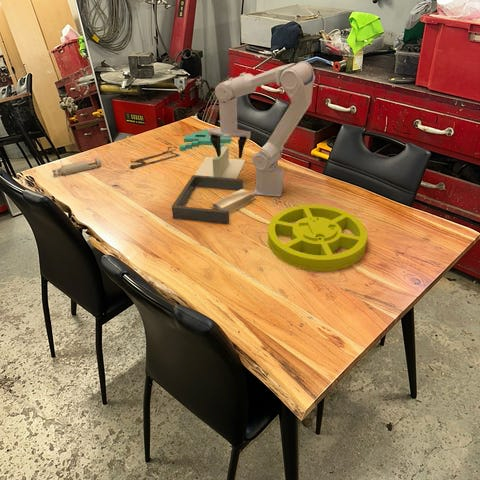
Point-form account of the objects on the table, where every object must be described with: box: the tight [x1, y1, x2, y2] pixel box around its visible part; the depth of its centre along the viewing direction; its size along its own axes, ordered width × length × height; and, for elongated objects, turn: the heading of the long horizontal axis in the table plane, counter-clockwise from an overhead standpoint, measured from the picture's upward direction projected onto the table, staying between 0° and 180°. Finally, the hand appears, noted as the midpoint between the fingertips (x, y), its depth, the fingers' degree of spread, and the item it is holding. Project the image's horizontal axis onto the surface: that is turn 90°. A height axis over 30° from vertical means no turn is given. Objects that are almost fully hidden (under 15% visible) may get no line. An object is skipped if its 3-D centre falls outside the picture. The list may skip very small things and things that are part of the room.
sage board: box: [212, 145, 230, 177], centre depth 161 cm, size 2×12×7 cm, turn 165°
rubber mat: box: [194, 156, 247, 179], centre depth 164 cm, size 16×20×1 cm
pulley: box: [267, 204, 368, 272], centre depth 124 cm, size 28×28×5 cm
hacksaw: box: [129, 146, 180, 170], centre depth 174 cm, size 24×10×2 cm, turn 125°
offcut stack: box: [211, 188, 257, 214], centre depth 142 cm, size 6×16×4 cm, turn 135°
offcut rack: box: [171, 174, 244, 225], centre depth 143 cm, size 18×22×4 cm
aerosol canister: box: [51, 157, 102, 177], centre depth 164 cm, size 18×5×7 cm, turn 121°
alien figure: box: [179, 128, 232, 152], centre depth 186 cm, size 20×2×20 cm
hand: (229, 156), depth 152 cm, fingers open, 7 cm apart
